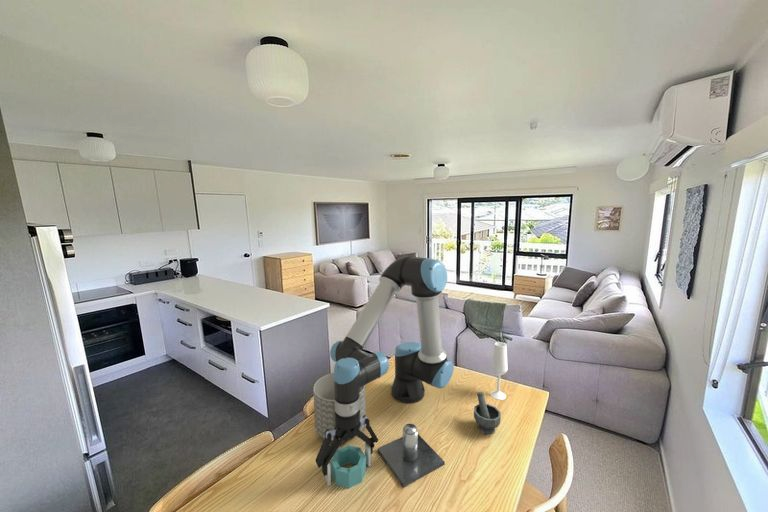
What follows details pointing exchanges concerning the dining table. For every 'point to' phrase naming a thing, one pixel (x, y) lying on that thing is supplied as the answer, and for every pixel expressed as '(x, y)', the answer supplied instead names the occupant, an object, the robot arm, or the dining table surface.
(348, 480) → the ring
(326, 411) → the planter
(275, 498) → the dining table surface
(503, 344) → the champagne flute
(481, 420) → the mortar and pestle
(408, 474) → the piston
